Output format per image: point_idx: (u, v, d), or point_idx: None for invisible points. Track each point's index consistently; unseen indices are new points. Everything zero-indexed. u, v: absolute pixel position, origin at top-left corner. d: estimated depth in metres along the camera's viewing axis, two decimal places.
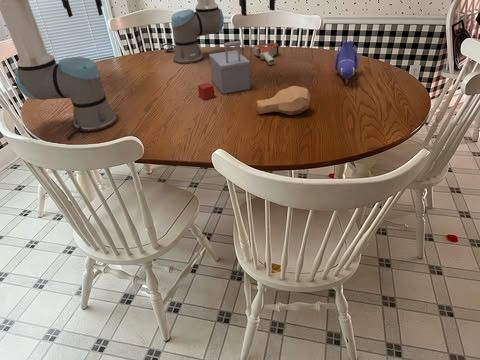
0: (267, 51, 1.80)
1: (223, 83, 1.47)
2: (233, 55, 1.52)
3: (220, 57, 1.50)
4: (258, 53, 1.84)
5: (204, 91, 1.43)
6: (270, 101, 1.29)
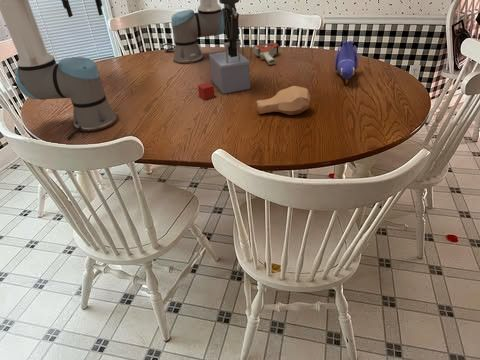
0: (267, 51, 1.80)
1: (223, 83, 1.47)
2: None
3: (220, 57, 1.50)
4: (258, 53, 1.84)
5: (204, 91, 1.43)
6: (270, 101, 1.29)
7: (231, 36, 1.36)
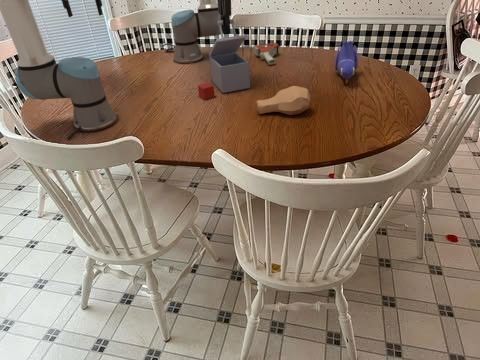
0: (267, 51, 1.80)
1: (223, 82, 1.46)
2: None
3: None
4: (258, 53, 1.84)
5: (204, 91, 1.43)
6: (270, 101, 1.29)
7: (224, 12, 1.37)
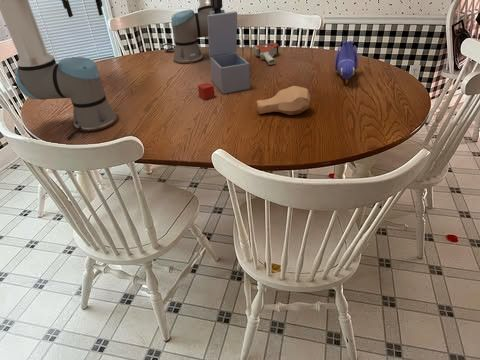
0: (267, 51, 1.80)
1: (223, 83, 1.47)
2: None
3: None
4: (258, 53, 1.84)
5: (204, 91, 1.43)
6: (270, 101, 1.29)
7: (215, 5, 1.45)
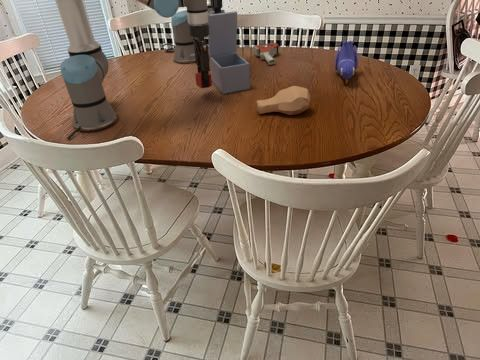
0: (267, 51, 1.80)
1: (223, 83, 1.47)
2: None
3: None
4: (258, 53, 1.84)
5: (201, 80, 1.40)
6: (270, 101, 1.29)
7: (216, 5, 1.45)
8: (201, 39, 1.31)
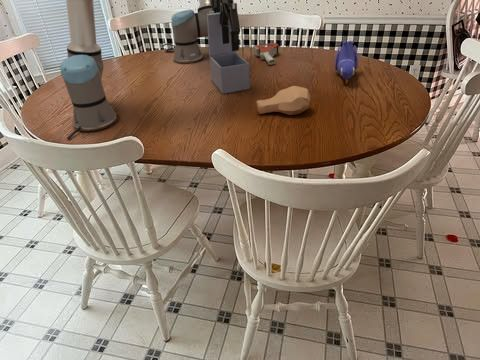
0: (267, 51, 1.80)
1: (223, 83, 1.47)
2: None
3: None
4: (258, 53, 1.84)
5: None
6: (270, 101, 1.29)
7: (215, 5, 1.46)
8: (230, 1, 1.30)
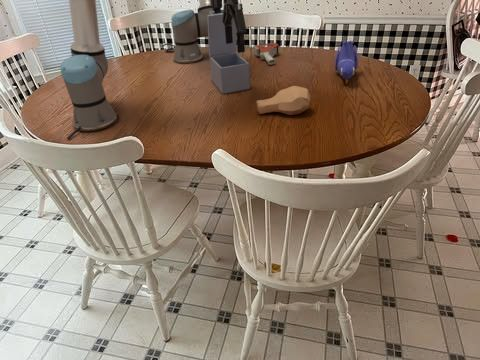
0: (267, 51, 1.80)
1: (223, 83, 1.47)
2: None
3: None
4: (258, 53, 1.84)
5: None
6: (270, 101, 1.29)
7: (215, 4, 1.45)
8: (235, 2, 1.26)
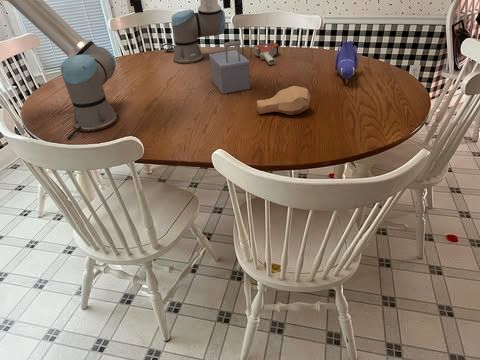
0: (267, 51, 1.80)
1: (223, 83, 1.47)
2: (233, 55, 1.52)
3: (220, 57, 1.51)
4: (258, 53, 1.84)
5: None
6: (270, 101, 1.29)
7: None
8: None
